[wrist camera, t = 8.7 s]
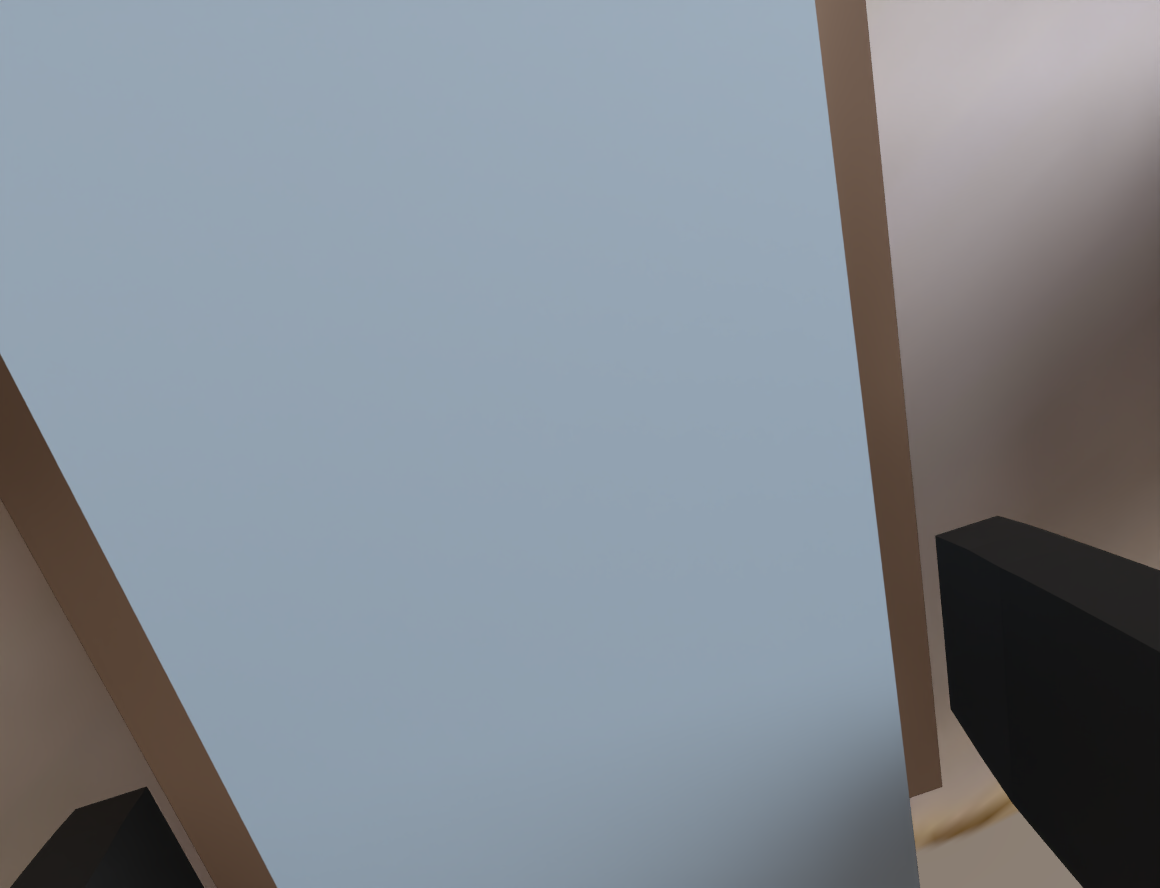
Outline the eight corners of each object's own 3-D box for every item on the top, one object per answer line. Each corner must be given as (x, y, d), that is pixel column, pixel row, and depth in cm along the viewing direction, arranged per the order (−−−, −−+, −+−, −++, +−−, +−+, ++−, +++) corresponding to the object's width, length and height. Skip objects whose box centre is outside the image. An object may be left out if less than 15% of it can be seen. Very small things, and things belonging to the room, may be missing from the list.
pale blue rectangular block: (772, 894, 15) (971, 1319, 10) (507, 987, 15) (582, 1472, 10) (554, -138, 9) (778, -317, 4) (102, -26, 9) (-225, -79, 4)
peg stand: (782, -402, 12) (968, -587, 9) (911, 746, 20) (1037, 911, 17) (-302, -154, 11) (-641, -242, 7) (290, 956, 19) (272, 1185, 16)
